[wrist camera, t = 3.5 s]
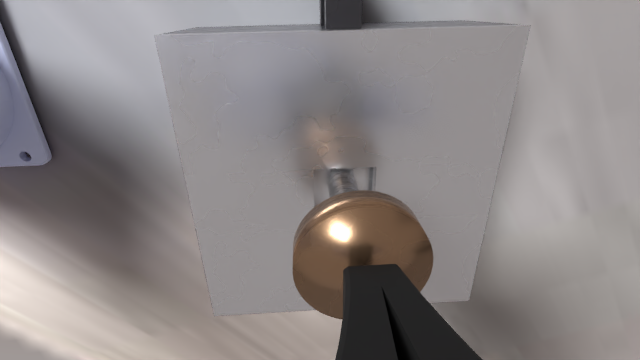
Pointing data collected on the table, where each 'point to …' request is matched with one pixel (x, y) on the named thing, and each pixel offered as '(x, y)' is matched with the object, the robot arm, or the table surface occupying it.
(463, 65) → the press
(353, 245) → the brass door knob
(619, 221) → the table surface
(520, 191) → the table surface
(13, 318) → the table surface
